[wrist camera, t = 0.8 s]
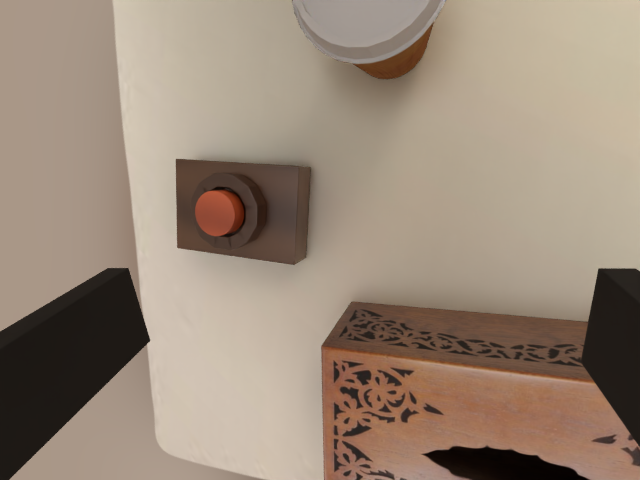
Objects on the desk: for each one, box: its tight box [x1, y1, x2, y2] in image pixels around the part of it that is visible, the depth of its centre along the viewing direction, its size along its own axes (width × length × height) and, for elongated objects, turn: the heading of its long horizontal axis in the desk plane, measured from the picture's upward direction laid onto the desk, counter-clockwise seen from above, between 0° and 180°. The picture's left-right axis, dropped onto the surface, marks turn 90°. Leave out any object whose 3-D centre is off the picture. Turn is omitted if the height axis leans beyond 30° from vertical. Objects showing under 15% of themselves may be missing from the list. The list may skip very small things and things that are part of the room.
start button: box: [195, 190, 244, 236], centre depth 33 cm, size 4×4×2 cm
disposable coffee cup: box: [292, 0, 446, 79], centre depth 25 cm, size 10×10×12 cm
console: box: [176, 159, 311, 265], centre depth 35 cm, size 9×13×5 cm
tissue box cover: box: [321, 302, 640, 480], centre depth 29 cm, size 26×14×10 cm, turn 91°
